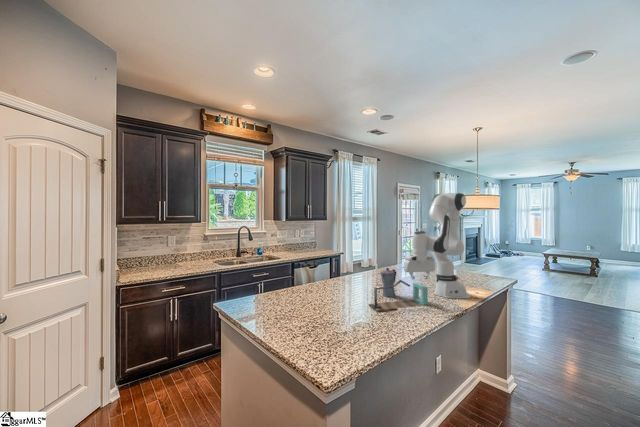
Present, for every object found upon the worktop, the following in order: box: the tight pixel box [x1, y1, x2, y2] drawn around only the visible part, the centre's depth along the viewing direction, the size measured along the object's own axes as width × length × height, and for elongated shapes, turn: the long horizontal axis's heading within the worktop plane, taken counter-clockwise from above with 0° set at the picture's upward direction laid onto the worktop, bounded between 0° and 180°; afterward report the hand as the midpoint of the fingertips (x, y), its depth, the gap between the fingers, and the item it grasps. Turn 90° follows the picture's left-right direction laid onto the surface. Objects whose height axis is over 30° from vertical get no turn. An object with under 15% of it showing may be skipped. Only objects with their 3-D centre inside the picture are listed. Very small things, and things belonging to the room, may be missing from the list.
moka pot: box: [380, 267, 397, 298], centre depth 192 cm, size 10×15×20 cm, turn 132°
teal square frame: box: [412, 282, 429, 306], centre depth 176 cm, size 3×11×11 cm, turn 14°
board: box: [368, 299, 431, 313], centre depth 172 cm, size 36×12×1 cm, turn 104°
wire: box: [369, 279, 411, 309], centre depth 171 cm, size 26×5×15 cm, turn 104°
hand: (419, 278), depth 175 cm, fingers open, 8 cm apart
